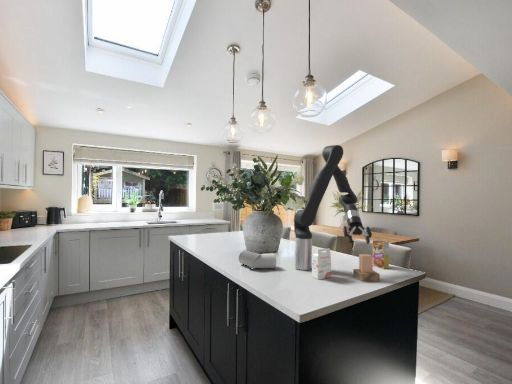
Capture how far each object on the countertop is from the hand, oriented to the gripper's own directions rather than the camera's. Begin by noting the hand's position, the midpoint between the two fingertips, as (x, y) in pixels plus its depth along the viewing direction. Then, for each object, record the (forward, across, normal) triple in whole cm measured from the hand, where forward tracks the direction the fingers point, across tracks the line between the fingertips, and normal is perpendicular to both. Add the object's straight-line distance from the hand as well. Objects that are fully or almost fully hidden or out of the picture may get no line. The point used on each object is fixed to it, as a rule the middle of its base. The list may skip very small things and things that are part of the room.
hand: (360, 242), depth 140 cm
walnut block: (+18, 0, +6) cm, 19 cm away
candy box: (0, +17, +23) cm, 28 cm away
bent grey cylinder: (+6, -56, +18) cm, 59 cm away
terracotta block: (+15, 0, +3) cm, 15 cm away
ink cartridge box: (+18, -22, +6) cm, 29 cm away
